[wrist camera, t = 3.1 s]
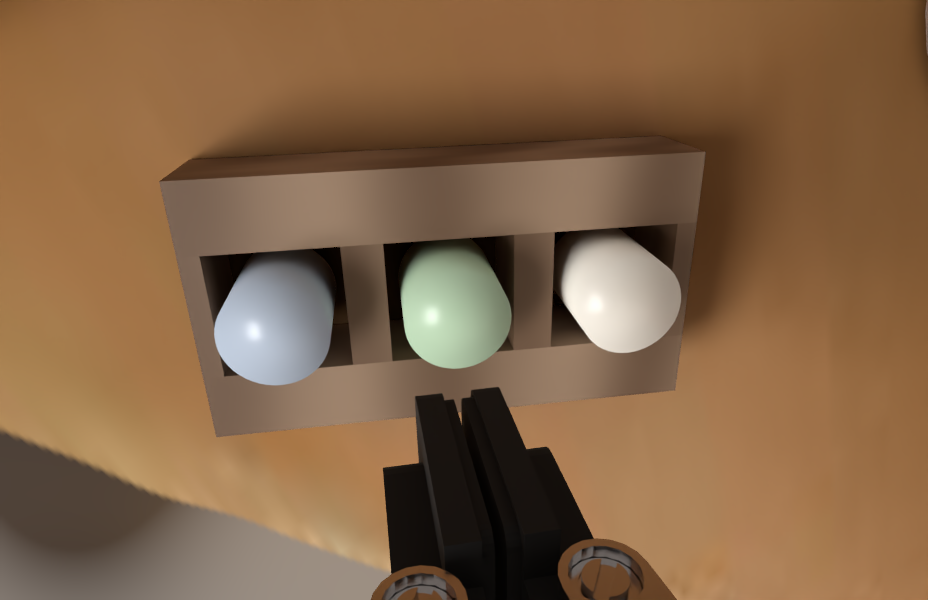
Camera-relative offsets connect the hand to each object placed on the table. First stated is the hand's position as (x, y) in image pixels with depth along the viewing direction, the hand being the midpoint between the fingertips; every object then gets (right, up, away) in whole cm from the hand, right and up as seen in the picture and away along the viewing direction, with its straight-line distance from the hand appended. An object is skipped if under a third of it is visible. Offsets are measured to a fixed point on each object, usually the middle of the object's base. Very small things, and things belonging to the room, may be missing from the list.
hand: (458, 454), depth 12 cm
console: (-1, +4, +9) cm, 10 cm away
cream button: (+4, +5, +10) cm, 11 cm away
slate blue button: (-6, +4, +8) cm, 11 cm away
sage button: (-1, +4, +9) cm, 10 cm away
